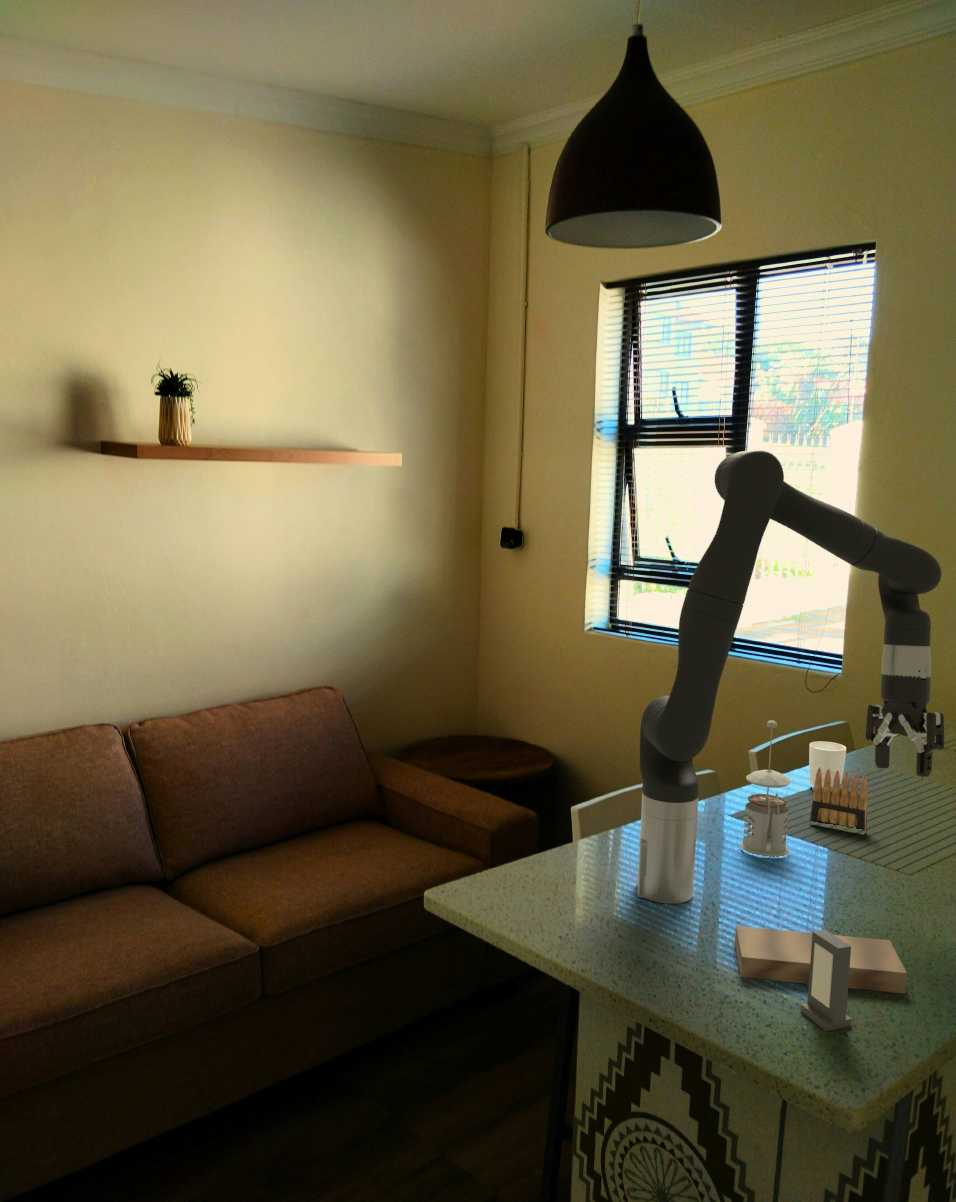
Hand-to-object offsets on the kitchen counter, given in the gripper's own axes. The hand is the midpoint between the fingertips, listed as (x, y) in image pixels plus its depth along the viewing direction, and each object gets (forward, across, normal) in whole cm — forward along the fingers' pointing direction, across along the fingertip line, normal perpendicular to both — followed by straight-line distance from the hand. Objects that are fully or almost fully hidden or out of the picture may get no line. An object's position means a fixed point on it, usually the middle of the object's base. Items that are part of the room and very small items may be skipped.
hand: (902, 772), depth 166 cm
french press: (+20, -29, -4) cm, 35 cm away
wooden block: (+26, +10, -26) cm, 38 cm away
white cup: (+13, -56, +34) cm, 67 cm away
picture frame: (+28, +22, -34) cm, 49 cm away
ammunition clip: (+17, -34, +18) cm, 42 cm away
